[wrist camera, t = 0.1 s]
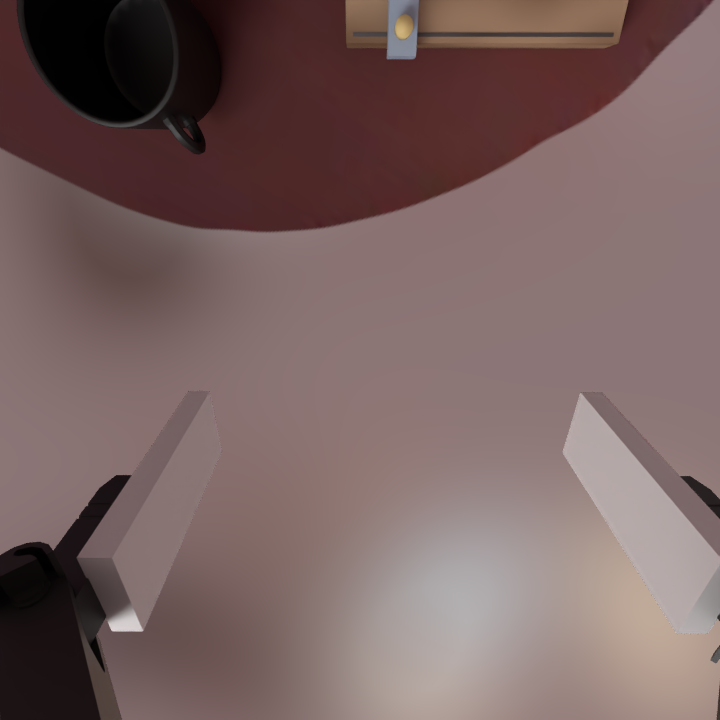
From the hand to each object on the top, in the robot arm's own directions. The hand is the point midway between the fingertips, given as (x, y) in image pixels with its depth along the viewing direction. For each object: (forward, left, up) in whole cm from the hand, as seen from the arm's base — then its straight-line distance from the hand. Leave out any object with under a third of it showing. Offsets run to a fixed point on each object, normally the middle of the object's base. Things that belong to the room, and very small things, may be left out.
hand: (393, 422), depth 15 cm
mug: (-13, -16, -28) cm, 35 cm away
